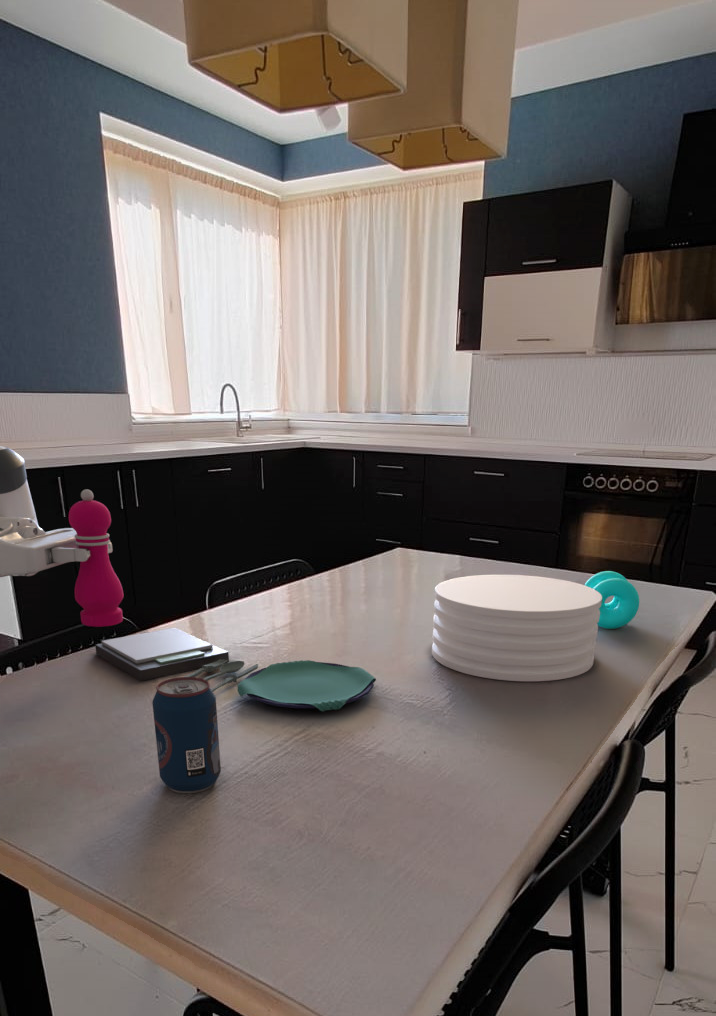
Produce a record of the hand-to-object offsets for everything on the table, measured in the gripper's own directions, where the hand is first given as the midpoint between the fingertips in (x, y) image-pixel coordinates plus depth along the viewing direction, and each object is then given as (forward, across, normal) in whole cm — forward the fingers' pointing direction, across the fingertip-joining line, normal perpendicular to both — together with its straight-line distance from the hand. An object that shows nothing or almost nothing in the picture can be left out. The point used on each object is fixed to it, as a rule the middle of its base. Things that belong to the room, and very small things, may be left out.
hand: (99, 551), depth 117 cm
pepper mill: (-1, 0, -11) cm, 11 cm away
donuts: (+80, -54, -20) cm, 98 cm away
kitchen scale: (+3, -10, -20) cm, 22 cm away
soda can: (+28, +32, -20) cm, 47 cm away
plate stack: (+62, -28, -20) cm, 71 cm away
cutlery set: (+28, 0, -20) cm, 34 cm away
